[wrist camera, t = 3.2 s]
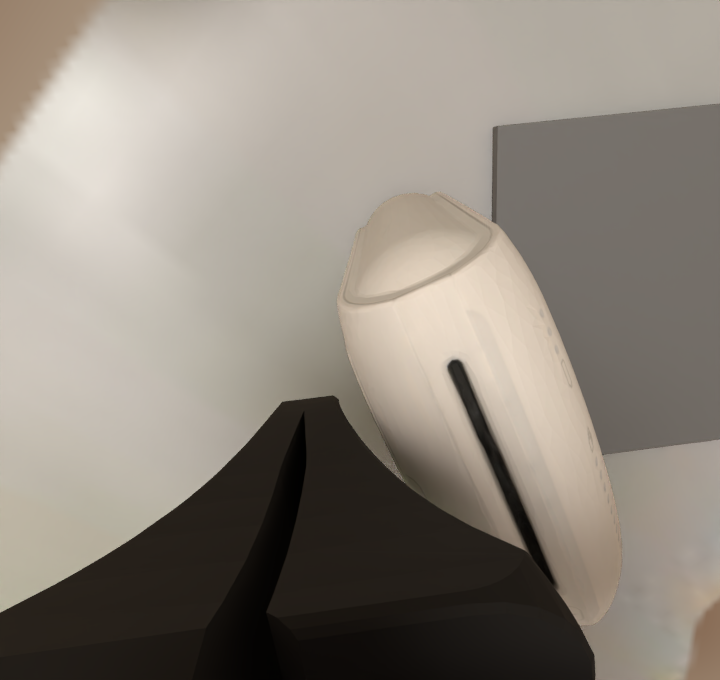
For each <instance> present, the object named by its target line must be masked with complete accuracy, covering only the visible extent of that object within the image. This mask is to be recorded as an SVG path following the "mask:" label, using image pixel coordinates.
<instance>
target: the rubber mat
mask: <svg viewBox="0 0 720 680" xmlns="http://www.w3.org/2000/svg"><path fill="white" fill-rule="evenodd" d="M492 222H494V223H495V224H497V225H498V226H499V227H500V228H501V229H502V230H503V231H504V232H505V234H506V235H507V236H508V238H509V239H510V241H511V242H512V243H513V245H514V246H515V248H516V249H517V250H518V252H519V253H520V255H521V256H522V258H523V260H524V261H525V263H526V265H527V266H528V268H529V270H530V271H531V273H532V275H533V277H534V279H535V281H536V283H537V285H538V287H539V289H540V291H541V293H542V295H543V297H544V299H545V301H546V304H547V306H548V309H549V311H550V313H551V316H552V318H553V320H554V323H555V325H556V327H557V330H558V332H559V334H560V337H561V340H562V342H563V345H564V347H565V350H566V352H567V355H568V357H569V360H570V362H571V365H572V368H573V370H574V373H575V376H576V379H577V381H578V384H579V387H580V389H581V393H582V395H583V398H584V401H585V404H586V406H587V409H588V412H589V415H590V418H591V421H592V424H593V427H594V430H595V434H596V437H597V440H598V443H599V446H600V449H601V453H602V455H604V454H612V453H620V452H627V451H635V450H643V449H650V448H658V447H666V446H673V445H681V444H688V443H696V442H704V441H711V440H719V439H720V104H712V105H702V106H692V107H682V108H672V109H662V110H652V111H642V112H632V113H622V114H612V115H602V116H592V117H582V118H572V119H562V120H552V121H542V122H532V123H523V124H513V125H503V126H496V127H493V182H492Z"/></svg>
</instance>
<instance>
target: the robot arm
mask: <svg viewBox="0 0 720 680" xmlns="http://www.w3.org/2000/svg"><path fill="white" fill-rule="evenodd" d="M0 680H595V661H594V654H593V652H592V650H591V648H590V646H589V644H588V642H587V640H586V638H585V636H584V634H583V632H582V630H581V628H580V626H579V624H578V622H577V621H576V619H575V617H574V616H573V614H572V613H571V611H570V609H569V608H568V606H567V605H566V603H565V602H564V600H563V599H562V597H561V596H560V595H559V593H558V592H557V591H556V589H555V588H554V586H553V585H552V584H551V582H550V581H549V580H548V578H547V577H546V576H545V574H544V573H543V572H542V570H541V569H540V568H539V566H538V565H537V564H536V562H535V561H534V560H533V559H532V557H531V556H530V555H529V554H528V552H526V551H525V550H523V549H521V548H519V547H516V546H514V545H512V544H510V543H508V542H505V541H503V540H501V539H499V538H496V537H494V536H492V535H490V534H488V533H485V532H483V531H481V530H479V529H476V528H474V527H472V526H470V525H468V524H466V523H465V522H463V521H461V520H459V519H458V518H456V517H454V516H452V515H450V514H449V513H447V512H445V511H443V510H442V509H440V508H438V507H437V506H435V505H434V504H433V503H431V502H430V501H428V500H427V499H425V498H424V497H422V496H421V495H419V494H418V493H416V492H415V491H414V490H412V489H411V488H410V487H409V486H407V485H406V484H405V483H404V482H402V481H401V480H400V479H399V478H398V477H397V476H395V475H394V474H393V473H392V472H391V471H390V470H389V469H388V468H387V467H386V466H385V465H384V464H383V463H382V462H381V461H380V460H379V459H378V458H377V457H376V456H375V455H374V454H373V453H372V452H371V451H370V449H369V448H368V447H367V446H366V445H365V444H364V442H363V441H362V440H361V439H360V437H359V436H358V435H357V433H356V432H355V430H354V429H353V428H352V426H351V425H350V423H349V422H348V420H347V419H346V417H345V415H344V413H343V411H342V409H341V407H340V405H339V399H337V398H336V397H335V396H326V397H318V398H310V399H302V400H294V401H286V402H282V403H281V404H280V405H279V407H278V408H277V409H276V410H275V411H274V412H273V414H272V415H271V416H270V417H269V418H268V420H267V421H266V422H265V423H264V424H263V426H262V427H261V428H260V429H259V430H258V431H257V433H256V434H255V435H254V436H253V437H252V438H251V439H250V441H249V442H248V443H247V444H246V445H245V446H244V447H243V448H242V449H241V450H240V451H239V452H238V453H237V454H236V455H235V456H234V457H233V458H232V459H231V460H230V461H229V462H228V463H227V464H226V465H225V466H224V467H223V468H222V469H221V470H220V471H219V472H218V473H217V474H216V475H215V476H214V477H213V478H212V479H211V480H209V481H208V482H207V483H206V484H205V485H204V486H203V487H201V488H200V489H199V490H198V491H196V492H195V493H194V494H193V495H192V496H190V497H189V498H188V499H187V500H185V501H184V502H183V503H182V504H180V505H179V506H178V507H176V508H175V509H174V510H172V511H171V512H169V513H168V514H167V515H165V516H164V517H162V518H161V519H160V520H158V521H157V522H155V523H154V524H152V525H151V526H150V527H148V528H147V529H145V530H144V531H143V532H141V533H140V534H138V535H137V536H135V537H134V538H132V539H131V540H129V541H128V542H126V543H125V544H123V545H121V546H120V547H118V548H117V549H115V550H113V551H112V552H110V553H109V554H107V555H105V556H104V557H102V558H100V559H99V560H97V561H95V562H94V563H92V564H90V565H89V566H87V567H85V568H83V569H82V570H80V571H78V572H77V573H75V574H73V575H71V576H70V577H68V578H66V579H64V580H62V581H61V582H59V583H57V584H55V585H53V586H51V587H49V588H47V589H46V590H44V591H42V592H40V593H38V594H36V595H34V596H32V597H30V598H28V599H26V600H24V601H22V602H20V603H18V604H16V605H14V606H13V607H11V608H9V609H7V610H5V611H3V612H1V613H0Z"/></svg>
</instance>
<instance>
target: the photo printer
mask: <svg viewBox="0 0 720 680" xmlns="http://www.w3.org/2000/svg"><path fill="white" fill-rule="evenodd" d="M337 307H338V313H339V319H340V323H341V327H342V331H343V335H344V339H345V346H346V351H347V354H348V357H349V360H350V363H351V365H352V368H353V370H354V373H355V375H356V378H357V381H358V383H359V386H360V388H361V390H362V393H363V395H364V398H365V400H366V402H367V405H368V407H369V409H370V411H371V413H372V415H373V418H374V420H375V422H376V424H377V426H378V428H379V430H380V433H381V435H382V437H383V439H384V441H385V443H386V446H387V448H388V450H389V452H390V454H391V456H392V458H393V460H394V462H395V464H396V466H397V468H398V470H399V472H400V474H401V476H402V478H403V480H404V481H405V483H406V485H407V486H409V487H410V488H411V489H412V490H414V491H415V492H416V493H418V494H419V495H421V496H422V497H424V498H425V499H427V500H428V501H430V502H431V503H433V504H434V505H435V506H437V507H438V508H440V509H442V510H443V511H445V512H447V513H449V514H450V515H452V516H454V517H456V518H458V519H459V520H461V521H463V522H465V523H466V524H468V525H470V526H472V527H474V528H476V529H479V530H481V531H483V532H485V533H488V534H490V535H492V536H494V537H496V538H499V539H501V540H503V541H505V542H508V543H510V544H512V545H514V546H516V547H519V548H521V549H523V550H525V551H526V552H528V554H529V555H530V556H531V557H532V559H533V560H534V561H535V562H536V564H537V565H538V566H539V568H540V569H541V570H542V572H543V573H544V574H545V576H546V577H547V578H548V580H549V581H550V582H551V584H552V585H553V586H554V588H555V589H556V591H557V592H558V593H559V595H560V596H561V597H562V599H563V600H564V602H565V603H566V605H567V606H568V608H569V609H570V611H571V613H572V614H573V616H574V617H575V619H576V621H577V622H578V624H579V625H594V624H595V623H597V622H598V621H599V620H601V619H602V617H603V616H604V615H605V614H606V612H607V611H608V610H609V608H610V606H611V604H612V602H613V599H614V597H615V594H616V591H617V587H618V583H619V579H620V574H621V566H622V541H621V533H620V525H619V520H618V514H617V509H616V505H615V500H614V496H613V492H612V488H611V484H610V480H609V476H608V473H607V470H606V466H605V463H604V460H603V456H602V453H601V449H600V446H599V443H598V440H597V437H596V434H595V430H594V427H593V424H592V421H591V418H590V415H589V412H588V409H587V406H586V404H585V401H584V398H583V395H582V393H581V389H580V387H579V384H578V381H577V379H576V376H575V373H574V370H573V368H572V365H571V362H570V360H569V357H568V355H567V352H566V350H565V347H564V345H563V342H562V340H561V337H560V334H559V332H558V330H557V327H556V325H555V323H554V320H553V318H552V316H551V313H550V311H549V309H548V306H547V304H546V301H545V299H544V297H543V295H542V293H541V291H540V289H539V287H538V285H537V283H536V281H535V279H534V277H533V275H532V273H531V271H530V270H529V268H528V266H527V265H526V263H525V261H524V260H523V258H522V256H521V255H520V253H519V252H518V250H517V249H516V248H515V246H514V245H513V243H512V242H511V241H510V239H509V238H508V236H507V235H506V234H505V232H504V231H503V230H502V229H501V228H500V227H499V226H498V225H497V224H495V223H494V222H492V221H490V220H489V219H487V218H485V217H484V216H482V215H480V214H478V213H477V212H475V211H473V210H472V209H470V208H468V207H467V206H465V205H463V204H462V203H460V202H458V201H456V200H454V199H453V198H451V197H449V196H447V195H445V194H443V193H441V192H435V193H434V194H432V195H430V196H427V195H424V194H418V193H409V194H402V195H399V196H396V197H393V198H391V199H389V200H387V201H386V202H384V203H383V204H382V205H380V206H379V207H378V208H377V209H376V211H375V212H374V213H373V214H372V216H371V218H370V219H369V221H368V224H367V226H365V227H363V228H360V229H359V230H358V231H357V233H356V236H355V240H354V244H353V247H352V250H351V254H350V258H349V261H348V264H347V267H346V271H345V274H344V277H343V280H342V284H341V288H340V291H339V294H338V298H337Z"/></svg>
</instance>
